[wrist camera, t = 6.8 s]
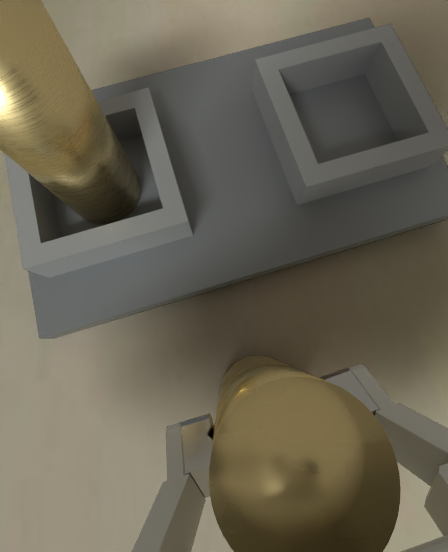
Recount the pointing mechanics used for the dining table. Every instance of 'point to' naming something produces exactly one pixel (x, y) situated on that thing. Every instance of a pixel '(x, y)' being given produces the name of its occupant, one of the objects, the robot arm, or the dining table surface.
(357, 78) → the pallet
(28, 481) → the dining table surface
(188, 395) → the dining table surface
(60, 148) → the seated billet
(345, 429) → the loose billet
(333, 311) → the dining table surface
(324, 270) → the dining table surface
